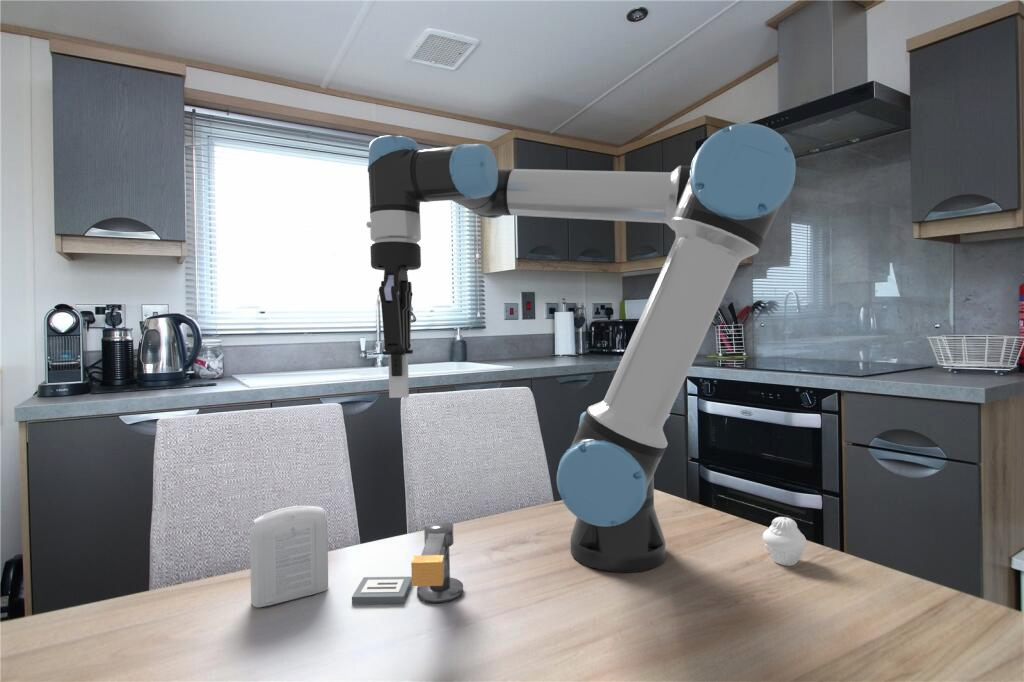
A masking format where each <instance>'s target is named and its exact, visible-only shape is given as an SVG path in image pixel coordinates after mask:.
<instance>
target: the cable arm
mask: <svg viewBox="0 0 1024 682" xmlns="http://www.w3.org/2000/svg"><path fill="white" fill-rule="evenodd" d="M423 530H424V531H423V533H424V536H423V537H424V546H423V548H422V552H421V555H413V558H412V561H411V563H410V564H411V577H412V585H411V587H418V586H443V582H444V552H445V548H447V547H449V548H450V547H452V546H453V545H454V543H455V542H454V541H455V540H454V538H455V537H454V524H453V523H452V522H449V521H445V520H439V521H437V520H436V521H432V522H429V523H426V524H425V525H424V529H423Z"/></svg>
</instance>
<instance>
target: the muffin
mask: <svg viewBox="0 0 1024 682" xmlns="http://www.w3.org/2000/svg"><path fill="white" fill-rule="evenodd" d="M806 538H807V537H805V535H804V534H803V533H802V532H801V530H800V529H799V528H798V524H797V522H796V521H795V520H794V519H792V518H791V517H786V516H778V517H775V518H774V519H772V521H771V525H770V526H769V528H767V529H766V530H764V531H763V534H762V540H763V542H764V546H765V547H766V549H767V551H768V553H769V555H770V557H771V559H772V561H773V562H774V563H776V564H778V565H781V566H786V567H787V566H788V567H791V566H795V565H796V564H797V563H798V561H799V560H800V558H801V556H802V555H803V553H804V552H805V548H806V546H807V539H806Z"/></svg>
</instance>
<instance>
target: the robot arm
mask: <svg viewBox="0 0 1024 682" xmlns="http://www.w3.org/2000/svg"><path fill="white" fill-rule="evenodd" d="M796 167H797V165H796V159H795V155H794V152H793V150H792V148H791V146H790V145H789V143H788V141H787V140H786V139H785V138H784V136H782V134H780V133H779V132H777V131H775V130H774V129H772V128H770V127H768V126H765V125H763V124H758V123H752V122H750V123H748V122H745V123H743V122H740V123H736V124H732V125H731V124H730V125H729V126H726V127H723V128H722V129H719V130H717V131H716V132H714V133H713V134H712V135H711V136H709V137H708V138H707V139H706V140H704V141H703V144H701V146H700V147H699V148H698V149H697V151H696V153H695V155H694V157H693V159H692V160H691V164H690V165H679V166H677V167H675V169H674V170H672V171H671V172H668V171H667V172H664V171H660V172H659V171H629V170H628V171H625V170H621V171H619V170H618V171H617V170H577V169H576V170H574V169H573V170H572V169H571V170H570V169H569V170H568V169H538V168H537V169H529V168H498V164H497V159H496V156H495V155H494V152H493V150H492V148H491V147H490V146H488V145H487V144H484V143H474V144H473V143H472V144H470V143H462V144H459V145H455V146H453V145H452V146H446V147H445V146H444V147H437V148H430V149H421V150H420V149H419V145H418V142H417V141H415V140H414V139H413V138H410V137H408V136H403V135H382V136H379V137H376V138H374V139H373V140H372V141H371V142H370V143H369V147H368V164H367V173H368V186H369V218H370V219H369V221H367V222H366V228H368V229H370V231H369V233H370V240H372V242H374V243H371V245H370V267H371V268H372V269H375V270H376V271H377V270H378V271H383V280H381V282H380V286H379V287H378V293H379V298H380V304H381V318H382V331H383V342H384V348H383V349H384V350H383V351H382V355H383V356H388V360H387V361H388V392H389V394H388V395H389V397H388V398H391V399H396V398H398V399H400V398H403V399H404V398H406V399H407V398H408V397H410V394H409V393H410V389H409V388H410V387H409V386H410V385H409V354H410V355H412V354H413V352H414V350H413V349H411V346H412V345H411V332H412V331H411V328H412V327H411V324H412V323H411V322H412V301H413V295H414V294H413V292H412V290H413V289H412V288H413V287H412V281H409V277H408V275H409V274H408V271H414V270H415V271H416V270H419V269H420V268H421V266H422V255H421V254H422V253H421V251H422V250H421V248H422V247H421V246H420V244H418V242H419V241H421V239H422V238H421V237H422V235H421V233H422V229H421V214H420V213H421V209H420V208H421V203H429V202H442V201H445V202H446V201H452V202H454V203H456V204H458V205H459V206H462V207H465V208H466V209H468V210H469V211H471V212H473V213H474V214H475V215H477V216H478V217H481V218H488V219H498V218H501V217H502V216H505V217H506V216H519V217H522V216H523V217H536V218H537V217H541V218H556V219H559V218H560V219H575V220H577V219H578V220H579V219H580V220H581V219H582V220H595V221H597V220H601V221H619V222H633V223H634V222H636V223H637V222H638V223H658V224H666V225H667V226H668V227H669V228H670V229H671V230H672V231H674V233H675V239H674V241H673V243H672V245H671V248H670V249H669V252H668V254H667V257H666V259H665V261H664V264H663V265H662V268H661V271H660V273H659V275H658V276H657V277H658V278H657V280H656V282H655V284H654V286H653V289H652V291H651V293H650V296H649V297H648V299H647V302H646V303H645V304H646V305H645V306H644V308H643V310H642V313H641V315H640V318H639V320H638V322H637V324H636V326H635V329H634V331H633V333H632V334H631V338H630V340H629V342H628V345H627V347H626V349H625V351H624V353H623V356H622V358H621V361H620V363H619V364H618V367H617V369H616V372H615V373H614V375H613V378H612V381H611V382H610V384H609V388H608V390H607V391H606V394H605V397H604V399H603V400H601V401H599V402H597V403H595V404H592V405H590V406H588V408H587V409H586V411H584V412H582V413H581V414H580V417H579V423H578V429H577V431H576V433H575V436H574V439H572V443H571V445H570V446H569V448H568V449H567V450H566V452H565V453H563V455H562V456H561V458H560V460H559V464H558V467H557V468H558V469H557V471H556V488H557V490H558V493H559V496H560V498H561V500H562V502H563V504H564V505H565V507H566V508H567V509H568V511H570V512H571V514H573V515H574V516H575V517H576V519H575V522H574V526H573V528H572V532H571V534H570V554H571V556H572V557H573V559H575V560H576V561H577V562H579V563H580V564H583V565H585V566H587V567H590V568H594V569H597V570H602V571H607V572H615V573H632V572H633V573H636V572H643V571H648V570H651V569H653V568H656V567H659V566H660V565H662V564H663V562H664V561H665V560H666V557H667V547H666V545H667V544H666V540H665V536H664V533H663V530H662V528H661V523H660V521H659V518H658V516H657V511H656V509H655V496H654V495H655V494H654V493H655V489H654V488H655V487H654V486H655V481H654V480H655V477H654V475H655V473H656V470H657V468H658V466H659V463H660V462H661V460H662V457H663V455H664V454H665V451H666V449H667V447H668V444H669V443H668V440H667V437H666V435H665V432H664V425H665V422H667V419H668V417H669V414H670V413H671V410H672V408H673V406H674V404H675V402H676V399H677V398H678V396H679V393H680V391H681V389H682V387H683V385H684V382H685V381H686V378H687V376H688V374H689V372H690V370H691V367H692V366H693V363H694V361H695V359H696V357H697V355H698V352H699V351H700V348H701V346H702V344H703V341H704V340H705V337H706V335H707V333H708V331H709V329H710V326H711V324H712V323H713V320H714V318H715V316H716V314H717V311H718V309H719V308H720V305H721V303H722V301H723V299H724V296H725V294H726V292H727V290H728V287H729V286H730V283H731V281H732V279H733V278H734V275H735V273H736V271H737V269H738V266H739V264H740V262H742V261H743V260H745V259H747V258H750V257H751V256H754V255H756V254H758V253H759V251H760V249H761V247H762V245H763V242H764V240H765V239H766V236H767V234H768V232H769V230H770V228H771V225H772V224H773V222H774V221H775V220H774V219H775V218H776V215H777V213H778V211H779V209H780V207H781V206H782V205H783V204H784V202H785V201H786V200H787V199H788V198H789V196H790V194H791V192H792V191H793V188H794V184H795V179H796Z"/></svg>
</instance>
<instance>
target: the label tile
mask: <svg viewBox="0 0 1024 682" xmlns="http://www.w3.org/2000/svg"><path fill="white" fill-rule="evenodd" d="M411 587H412V576H364V577H362V579H361V581H360V583H359V584H358V585H357V588H356V589H355V591H354V593H353V594H352V596H351V605H394V604H395V605H397V604H398V605H400V604H401V605H402V604H405V601H406V600H407V597H408V595H409V592H410V590H411Z"/></svg>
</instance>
